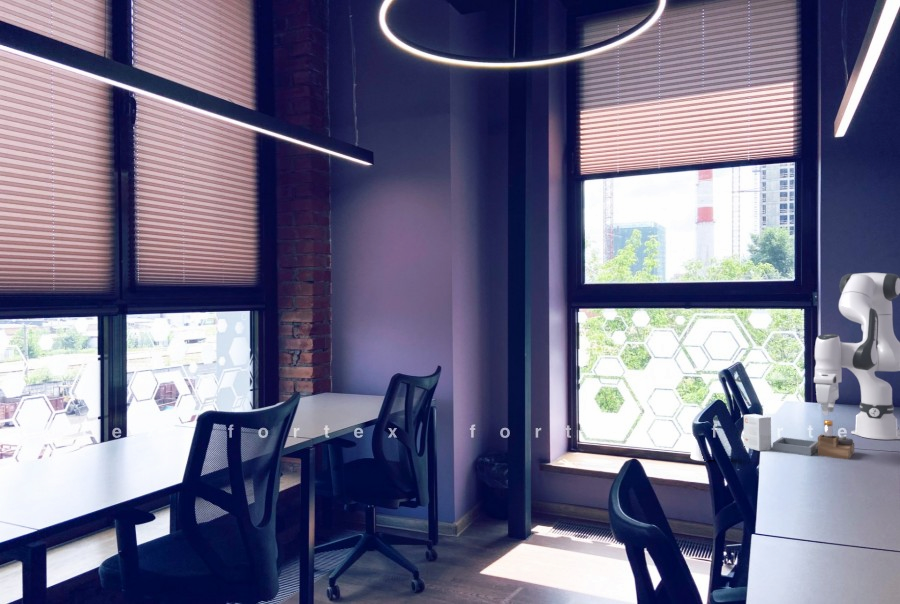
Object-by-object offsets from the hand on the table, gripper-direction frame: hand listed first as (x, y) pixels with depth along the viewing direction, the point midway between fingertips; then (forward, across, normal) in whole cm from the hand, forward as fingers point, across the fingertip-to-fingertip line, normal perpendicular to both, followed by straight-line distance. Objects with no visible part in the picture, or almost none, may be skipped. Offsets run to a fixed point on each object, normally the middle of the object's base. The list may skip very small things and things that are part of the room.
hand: (828, 413), depth 247 cm
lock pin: (+12, 0, 0) cm, 12 cm away
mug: (+17, +35, -35) cm, 53 cm away
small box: (+16, +4, -24) cm, 29 cm away
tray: (+16, -2, -12) cm, 20 cm away
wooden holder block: (+16, -4, +2) cm, 16 cm away
